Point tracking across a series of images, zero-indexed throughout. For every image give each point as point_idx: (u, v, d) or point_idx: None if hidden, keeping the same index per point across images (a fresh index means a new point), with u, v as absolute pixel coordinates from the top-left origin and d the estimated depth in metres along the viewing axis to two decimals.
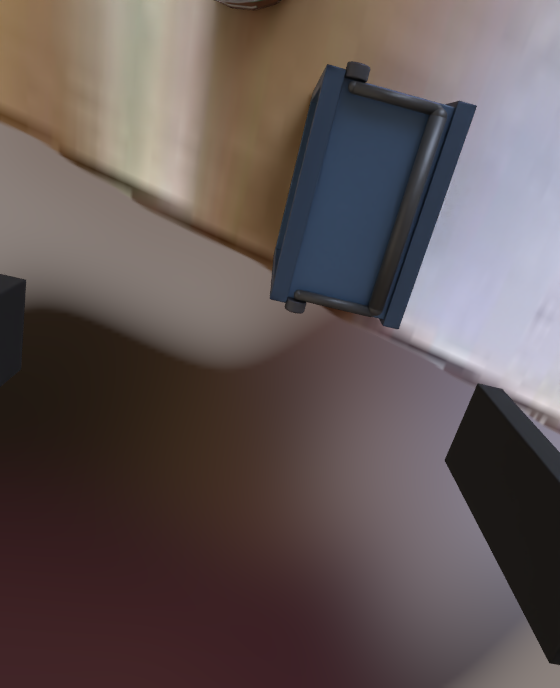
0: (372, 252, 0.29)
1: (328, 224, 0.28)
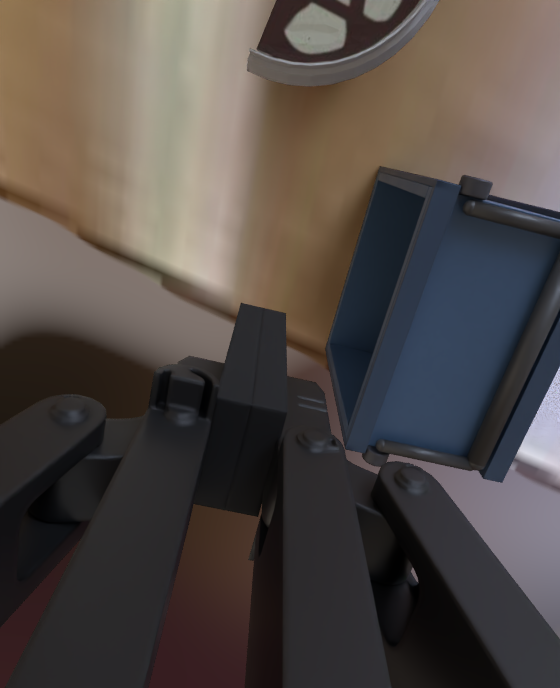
0: (476, 396, 0.23)
1: (423, 364, 0.22)
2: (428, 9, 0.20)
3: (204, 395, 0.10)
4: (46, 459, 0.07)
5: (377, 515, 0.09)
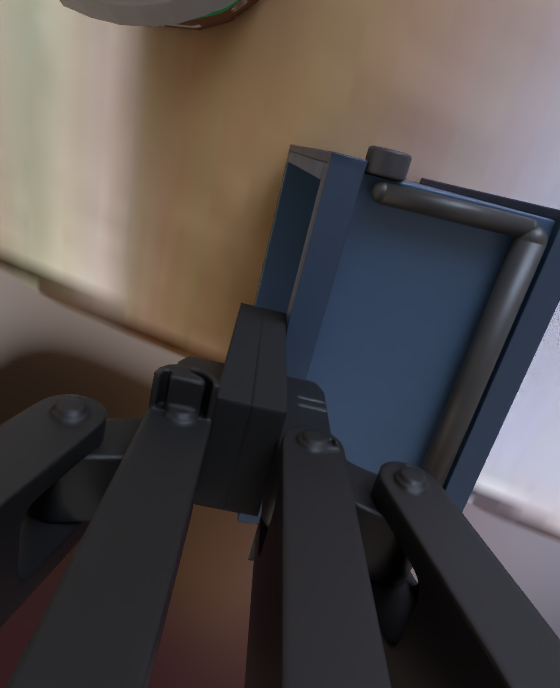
0: (406, 444, 0.17)
1: (333, 408, 0.17)
2: None
3: (204, 395, 0.10)
4: (46, 459, 0.07)
5: (377, 515, 0.09)
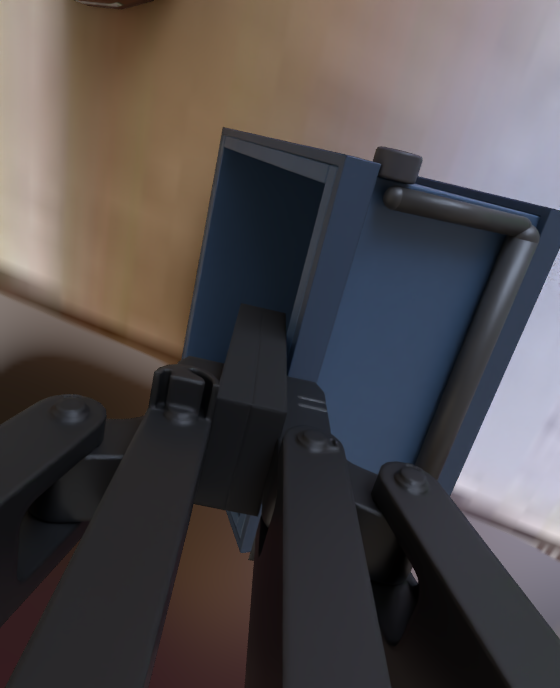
0: (402, 445, 0.17)
1: (336, 421, 0.16)
2: None
3: (204, 395, 0.10)
4: (46, 459, 0.07)
5: (377, 515, 0.09)
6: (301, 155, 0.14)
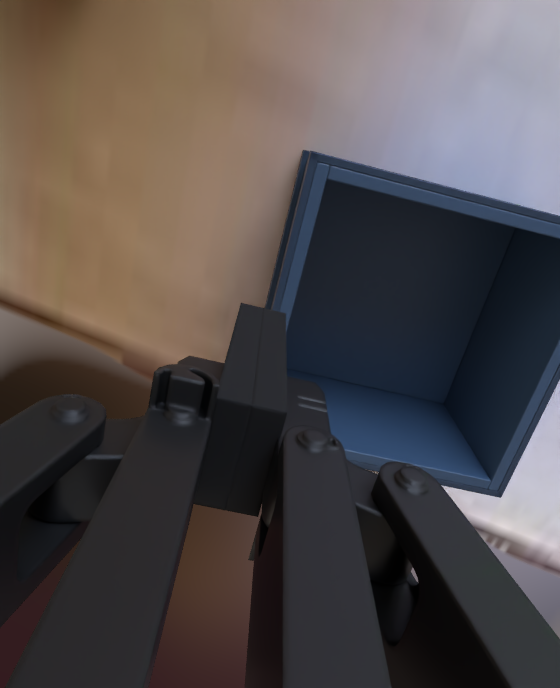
0: None
1: None
2: None
3: (204, 395, 0.10)
4: (46, 459, 0.07)
5: (377, 515, 0.09)
6: None
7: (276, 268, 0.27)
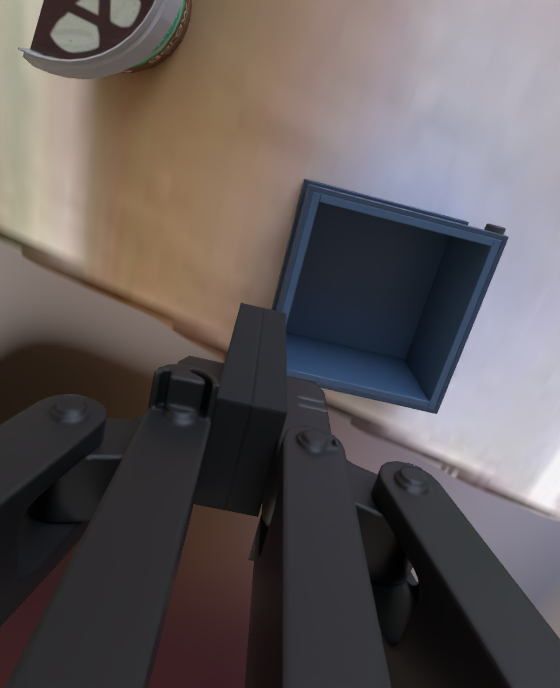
0: None
1: None
2: (159, 18, 0.25)
3: (204, 395, 0.10)
4: (46, 459, 0.07)
5: (377, 515, 0.09)
6: (464, 230, 0.30)
7: (285, 260, 0.38)
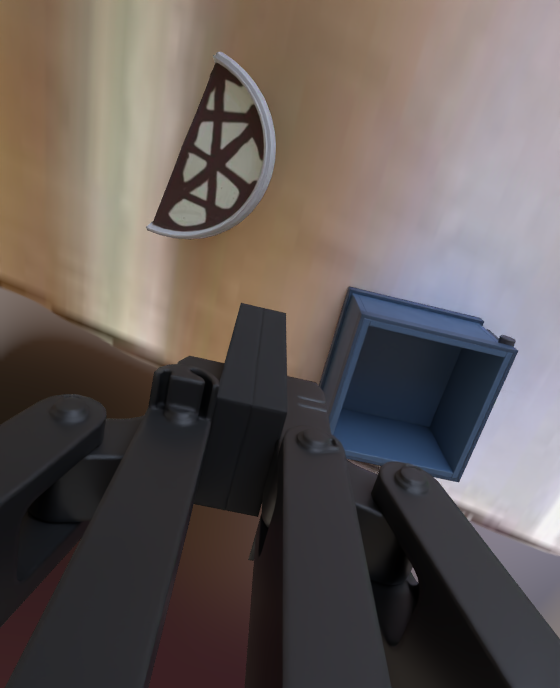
0: None
1: None
2: (253, 203, 0.33)
3: (204, 395, 0.10)
4: (46, 459, 0.07)
5: (377, 515, 0.09)
6: (483, 346, 0.38)
7: (332, 351, 0.46)
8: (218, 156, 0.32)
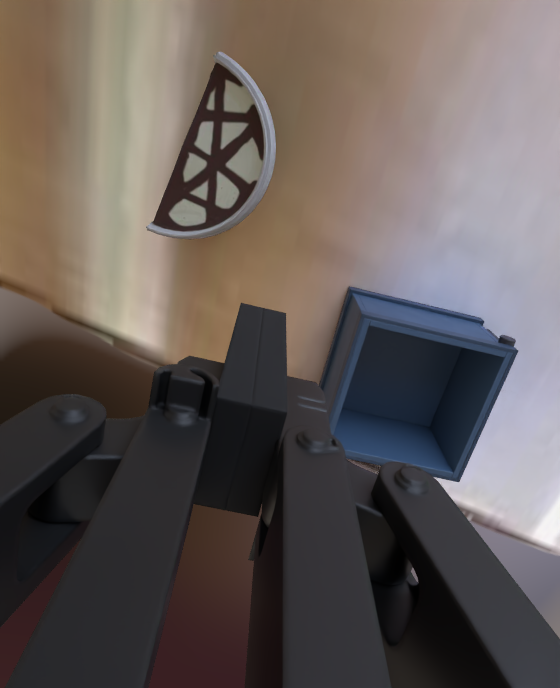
0: None
1: None
2: (253, 203, 0.33)
3: (204, 395, 0.10)
4: (46, 459, 0.07)
5: (377, 515, 0.09)
6: (483, 346, 0.38)
7: (332, 350, 0.46)
8: (218, 156, 0.32)
